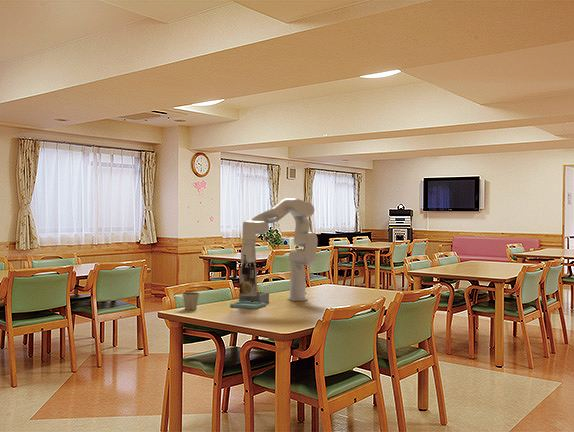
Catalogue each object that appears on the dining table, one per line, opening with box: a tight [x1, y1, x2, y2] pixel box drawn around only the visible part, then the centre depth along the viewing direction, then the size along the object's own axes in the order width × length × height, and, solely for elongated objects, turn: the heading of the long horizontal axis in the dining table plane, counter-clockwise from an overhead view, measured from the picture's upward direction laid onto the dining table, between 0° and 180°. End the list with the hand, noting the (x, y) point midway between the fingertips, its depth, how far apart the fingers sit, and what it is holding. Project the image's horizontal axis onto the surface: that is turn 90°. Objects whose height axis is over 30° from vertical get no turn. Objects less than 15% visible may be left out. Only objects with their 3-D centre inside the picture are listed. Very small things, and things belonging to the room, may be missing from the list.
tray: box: [229, 300, 267, 310], centre depth 318 cm, size 13×16×2 cm
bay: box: [238, 291, 270, 304], centre depth 331 cm, size 12×14×6 cm
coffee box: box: [239, 266, 258, 296], centre depth 318 cm, size 9×6×16 cm
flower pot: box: [181, 291, 200, 311], centre depth 306 cm, size 9×9×9 cm
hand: (248, 273), depth 318 cm, fingers closed on coffee box, 7 cm apart
